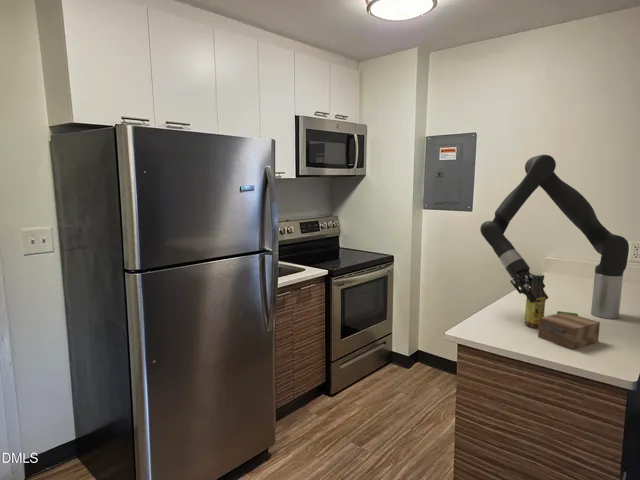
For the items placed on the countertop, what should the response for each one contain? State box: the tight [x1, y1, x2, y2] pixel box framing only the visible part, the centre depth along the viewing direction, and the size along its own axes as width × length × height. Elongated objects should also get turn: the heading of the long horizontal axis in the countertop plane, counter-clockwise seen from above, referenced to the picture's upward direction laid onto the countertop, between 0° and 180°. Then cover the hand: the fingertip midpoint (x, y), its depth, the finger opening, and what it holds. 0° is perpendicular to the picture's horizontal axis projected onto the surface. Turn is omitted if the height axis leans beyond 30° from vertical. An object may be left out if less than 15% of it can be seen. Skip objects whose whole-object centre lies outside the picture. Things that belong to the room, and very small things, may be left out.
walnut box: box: [537, 311, 601, 350], centre depth 136 cm, size 15×12×7 cm
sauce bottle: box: [524, 273, 547, 329], centre depth 149 cm, size 6×6×20 cm
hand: (540, 300), depth 148 cm, fingers closed on sauce bottle, 6 cm apart
